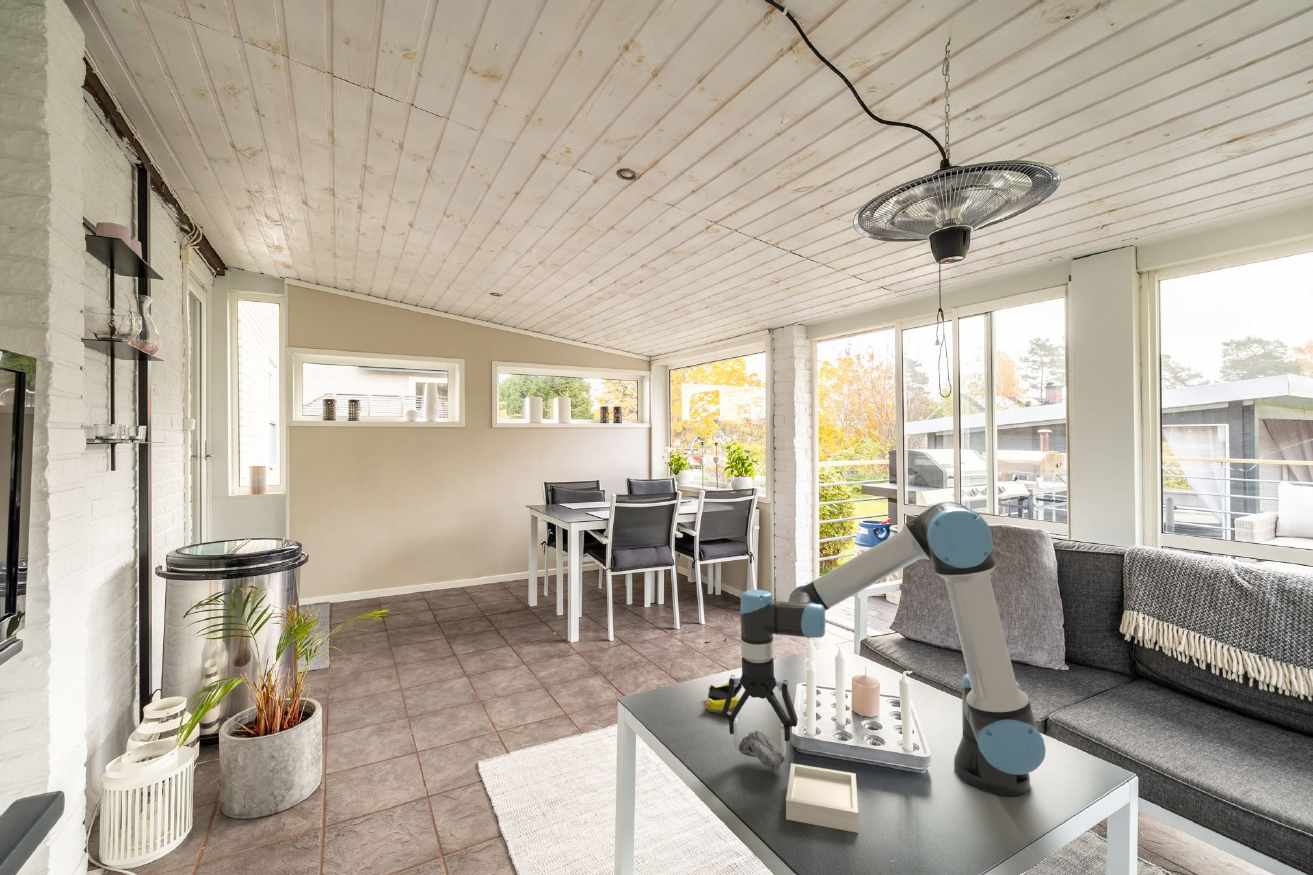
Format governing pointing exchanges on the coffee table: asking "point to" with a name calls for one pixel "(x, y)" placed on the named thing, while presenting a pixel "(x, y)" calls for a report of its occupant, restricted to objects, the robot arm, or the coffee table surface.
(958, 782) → the coffee table surface
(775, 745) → the grey rock
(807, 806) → the small open wooden box
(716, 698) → the yellow black shoe
